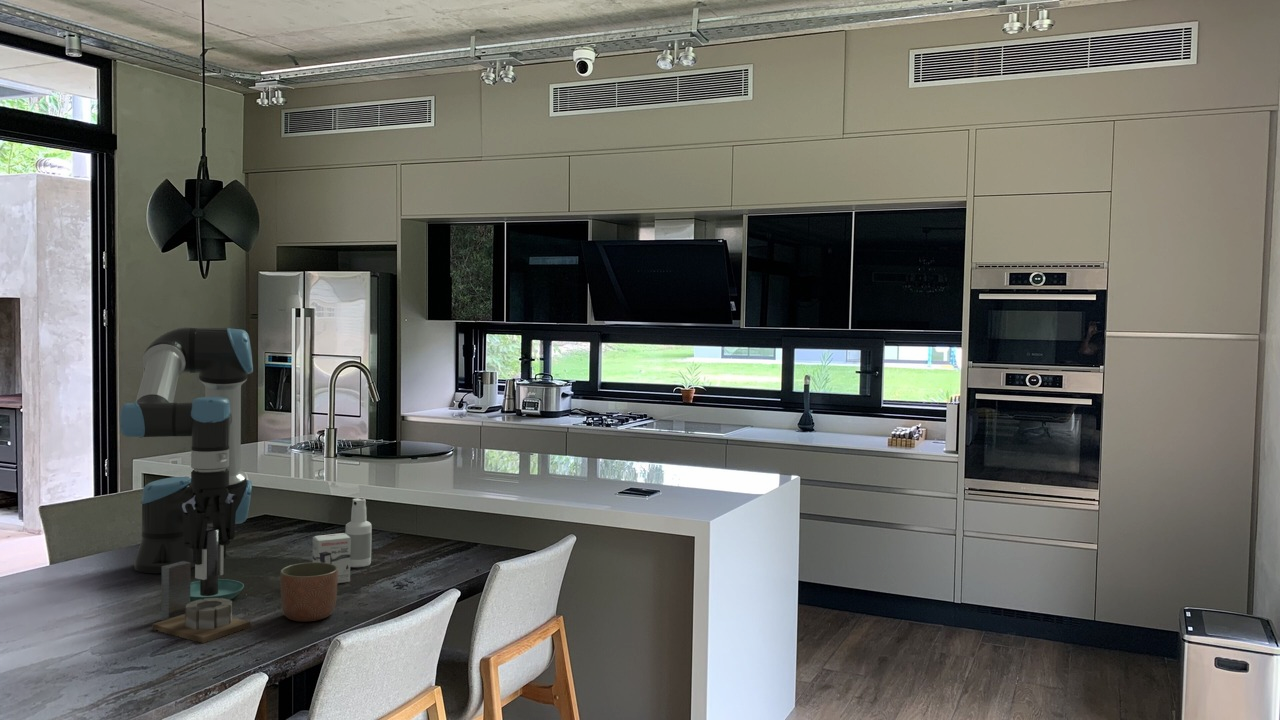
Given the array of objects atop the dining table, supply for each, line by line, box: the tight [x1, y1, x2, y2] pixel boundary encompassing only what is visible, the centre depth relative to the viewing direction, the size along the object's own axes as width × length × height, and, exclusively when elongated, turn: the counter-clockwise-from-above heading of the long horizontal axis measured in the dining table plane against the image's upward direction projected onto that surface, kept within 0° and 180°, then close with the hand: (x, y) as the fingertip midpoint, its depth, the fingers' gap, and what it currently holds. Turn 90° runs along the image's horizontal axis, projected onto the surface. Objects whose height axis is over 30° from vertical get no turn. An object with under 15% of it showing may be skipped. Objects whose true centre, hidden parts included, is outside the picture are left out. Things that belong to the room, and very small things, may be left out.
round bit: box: [199, 527, 220, 596], centre depth 208 cm, size 4×4×14 cm
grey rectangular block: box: [160, 561, 192, 621], centre depth 215 cm, size 6×2×12 cm, turn 153°
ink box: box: [312, 532, 351, 584], centre depth 246 cm, size 8×5×12 cm, turn 124°
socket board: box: [151, 598, 251, 644], centre depth 208 cm, size 16×12×5 cm
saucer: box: [190, 578, 245, 602], centre depth 230 cm, size 15×15×3 cm
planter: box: [280, 561, 338, 623], centre depth 218 cm, size 12×12×11 cm
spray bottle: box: [345, 497, 373, 568], centre depth 263 cm, size 7×7×18 cm
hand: (209, 576), depth 208 cm, fingers closed on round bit, 3 cm apart
